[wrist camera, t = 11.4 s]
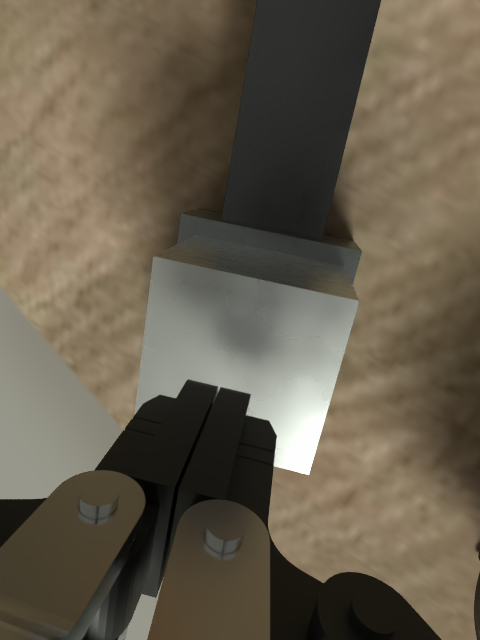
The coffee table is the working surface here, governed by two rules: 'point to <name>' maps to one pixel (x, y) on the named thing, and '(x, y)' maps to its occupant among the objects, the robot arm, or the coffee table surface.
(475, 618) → the alarm clock
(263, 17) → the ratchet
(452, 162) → the coffee table surface
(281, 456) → the brushed grey cube
